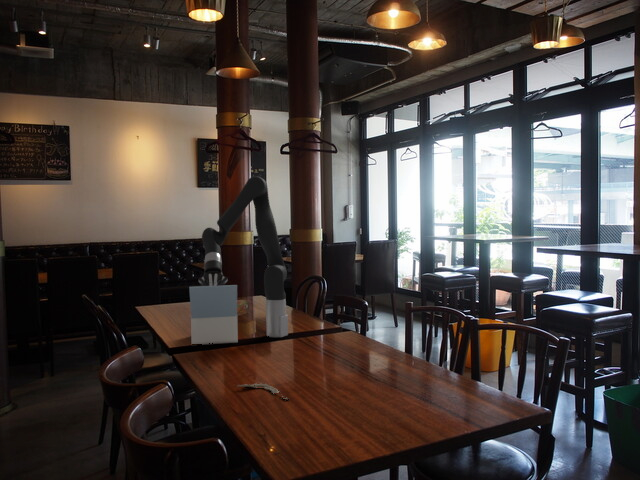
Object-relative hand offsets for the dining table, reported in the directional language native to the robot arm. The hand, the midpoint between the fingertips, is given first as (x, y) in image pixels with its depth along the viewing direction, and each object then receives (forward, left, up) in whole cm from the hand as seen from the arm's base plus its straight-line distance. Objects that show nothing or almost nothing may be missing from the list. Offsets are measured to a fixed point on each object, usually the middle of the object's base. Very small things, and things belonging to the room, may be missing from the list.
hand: (213, 296), depth 214 cm
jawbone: (-52, +35, -23) cm, 67 cm away
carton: (+10, -12, -22) cm, 27 cm away
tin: (+37, -61, -22) cm, 75 cm away
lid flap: (+1, -1, -3) cm, 3 cm away
